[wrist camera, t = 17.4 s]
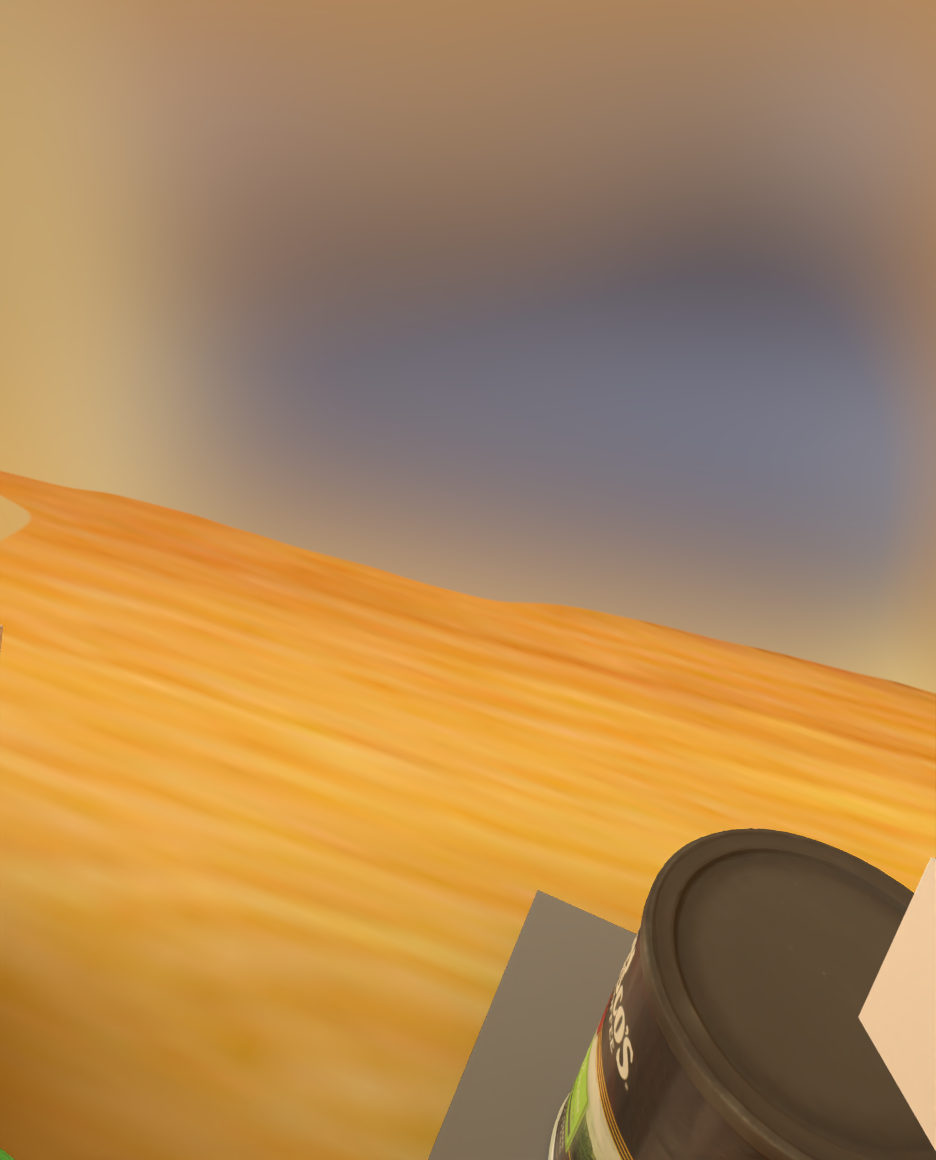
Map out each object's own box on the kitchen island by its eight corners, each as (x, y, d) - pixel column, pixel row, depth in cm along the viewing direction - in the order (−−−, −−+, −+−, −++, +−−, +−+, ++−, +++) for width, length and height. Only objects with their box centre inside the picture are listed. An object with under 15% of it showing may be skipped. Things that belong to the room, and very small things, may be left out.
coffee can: (496, 1256, 26) (589, 1025, 18) (604, 1006, 34) (698, 779, 26) (806, 1503, 22) (1076, 1335, 15) (845, 1155, 30) (1030, 936, 23)
